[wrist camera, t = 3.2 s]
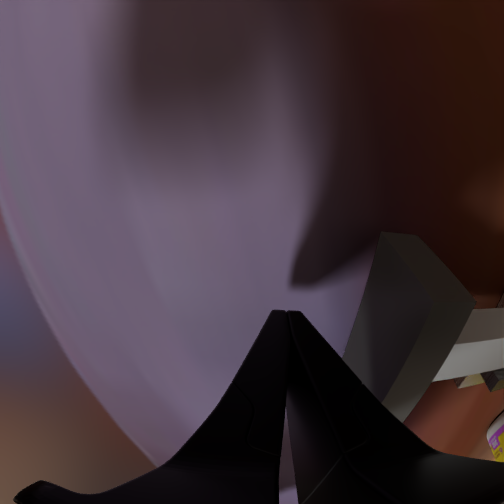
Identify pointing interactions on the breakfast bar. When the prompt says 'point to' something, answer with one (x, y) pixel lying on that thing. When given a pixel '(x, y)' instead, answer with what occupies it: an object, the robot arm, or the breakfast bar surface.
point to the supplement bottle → (497, 438)
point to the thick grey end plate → (418, 326)
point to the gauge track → (484, 374)
